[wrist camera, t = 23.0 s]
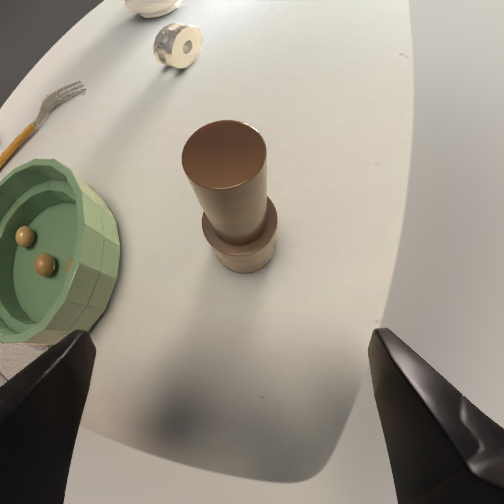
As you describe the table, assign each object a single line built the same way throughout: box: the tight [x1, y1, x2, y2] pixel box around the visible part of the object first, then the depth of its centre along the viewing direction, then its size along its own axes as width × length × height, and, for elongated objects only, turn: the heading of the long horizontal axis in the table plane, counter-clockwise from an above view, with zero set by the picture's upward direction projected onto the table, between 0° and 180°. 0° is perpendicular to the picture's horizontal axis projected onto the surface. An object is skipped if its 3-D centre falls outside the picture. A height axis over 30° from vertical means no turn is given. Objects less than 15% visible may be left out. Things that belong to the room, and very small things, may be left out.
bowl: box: [0, 159, 120, 345], centre depth 20 cm, size 14×14×6 cm
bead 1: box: [15, 226, 34, 248], centre depth 22 cm, size 2×2×2 cm
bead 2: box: [34, 253, 55, 277], centre depth 21 cm, size 2×2×2 cm
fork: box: [0, 81, 86, 168], centre depth 26 cm, size 2×2×20 cm
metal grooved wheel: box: [153, 23, 202, 68], centre depth 26 cm, size 5×3×5 cm, turn 150°
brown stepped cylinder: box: [182, 120, 277, 273], centre depth 17 cm, size 4×4×12 cm
